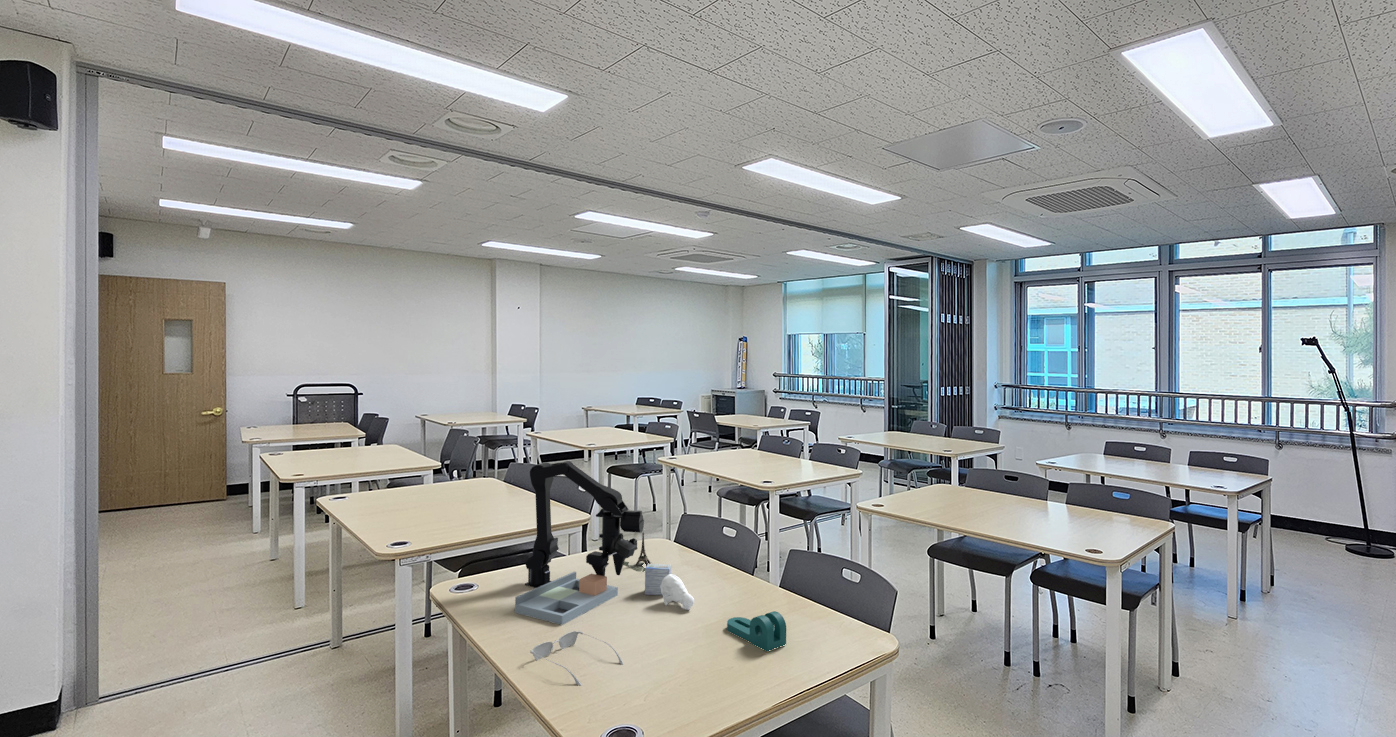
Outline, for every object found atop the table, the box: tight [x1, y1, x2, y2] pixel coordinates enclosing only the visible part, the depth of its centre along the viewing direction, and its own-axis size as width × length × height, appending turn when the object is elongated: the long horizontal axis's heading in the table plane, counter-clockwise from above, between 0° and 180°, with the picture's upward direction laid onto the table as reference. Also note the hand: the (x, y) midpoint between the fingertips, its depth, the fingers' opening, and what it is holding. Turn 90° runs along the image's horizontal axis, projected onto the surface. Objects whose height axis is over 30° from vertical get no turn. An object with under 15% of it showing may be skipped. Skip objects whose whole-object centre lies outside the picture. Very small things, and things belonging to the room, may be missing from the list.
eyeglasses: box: [529, 630, 625, 686], centre depth 152 cm, size 15×18×4 cm
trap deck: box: [514, 571, 619, 626], centre depth 190 cm, size 18×26×4 cm, turn 152°
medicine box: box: [644, 563, 672, 596], centre depth 200 cm, size 8×4×9 cm, turn 84°
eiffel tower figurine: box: [623, 532, 652, 573], centre depth 228 cm, size 15×10×13 cm
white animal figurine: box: [660, 573, 695, 611], centre depth 190 cm, size 6×8×12 cm
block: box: [578, 573, 608, 596], centre depth 194 cm, size 6×6×4 cm
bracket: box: [726, 610, 787, 652], centre depth 169 cm, size 18×7×8 cm, turn 37°
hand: (610, 579), depth 202 cm, fingers open, 9 cm apart
